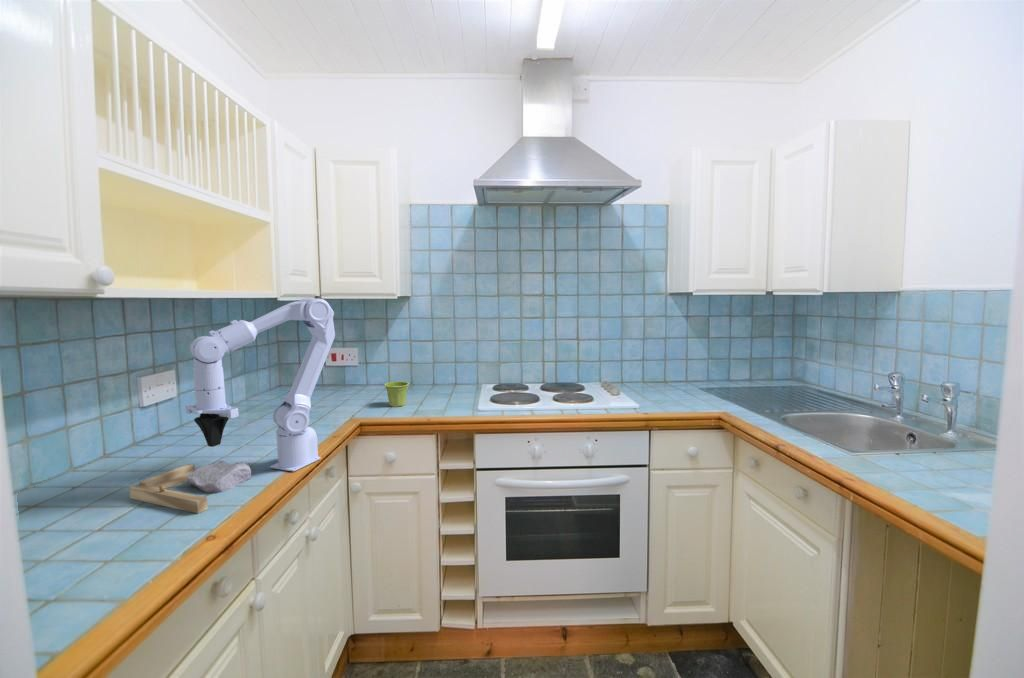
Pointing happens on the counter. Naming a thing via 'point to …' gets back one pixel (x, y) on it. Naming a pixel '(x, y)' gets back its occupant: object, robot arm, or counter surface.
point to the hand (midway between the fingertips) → (214, 445)
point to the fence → (169, 491)
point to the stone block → (219, 476)
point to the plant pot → (397, 393)
